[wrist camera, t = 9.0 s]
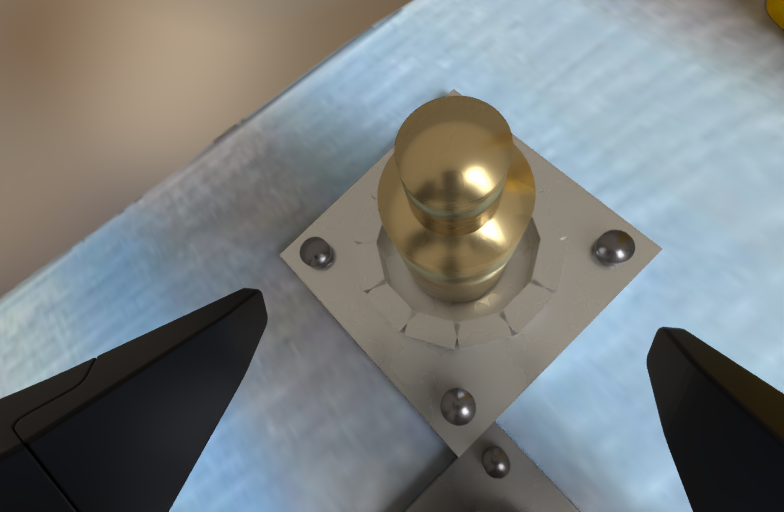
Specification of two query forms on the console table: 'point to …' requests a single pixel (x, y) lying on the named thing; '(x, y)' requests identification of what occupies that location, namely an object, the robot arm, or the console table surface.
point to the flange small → (492, 481)
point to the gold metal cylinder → (456, 197)
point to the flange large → (476, 317)
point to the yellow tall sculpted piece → (776, 11)
